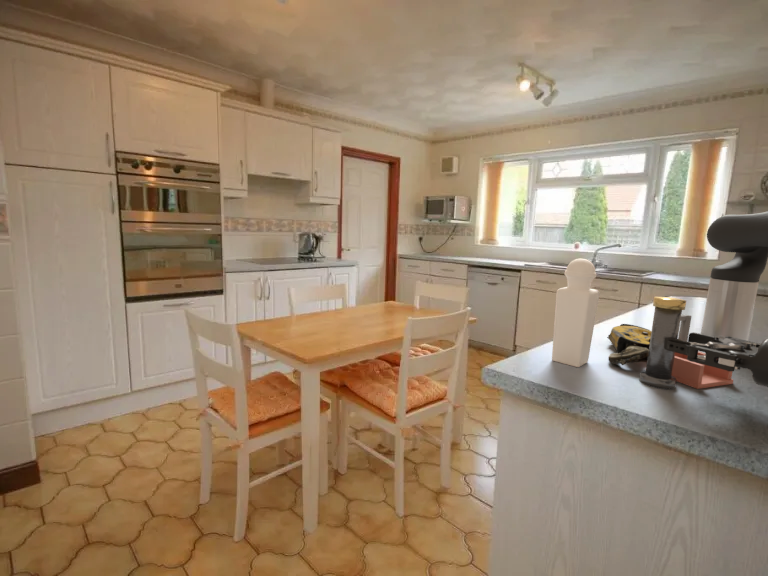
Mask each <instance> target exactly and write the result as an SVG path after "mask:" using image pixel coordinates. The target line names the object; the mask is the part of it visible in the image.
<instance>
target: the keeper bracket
mask: <svg viewBox="0 0 768 576" xmlns="http://www.w3.org/2000/svg"><path fill="white" fill-rule="evenodd" d="M691 320H692V315H690V314H681V320H680V326H679V333H678V339H680V340H684V341H688V338H689V334H690V327H691V322H692V321H691ZM705 354H706V353H705V352H702V351H698V355H702V356H704V355H705ZM687 357H688V356H687V355H683V354H680V353H676V352H675V357H674V364H673V370H672V376H673V377H675V378H676V383H677V382H678V383H680V384H683V385H686V386H689V387H692V388H694V389H697V390H700V389H706V388H713V387H720V386H727V385H733V384H734V379H733V378H732V377H733V372H734V371H731V372H730V371H727V370H723V369H719V368H715V367H712V366H708V365H704V364H700V363H696V362H691V361H689V360H687Z"/></svg>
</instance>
